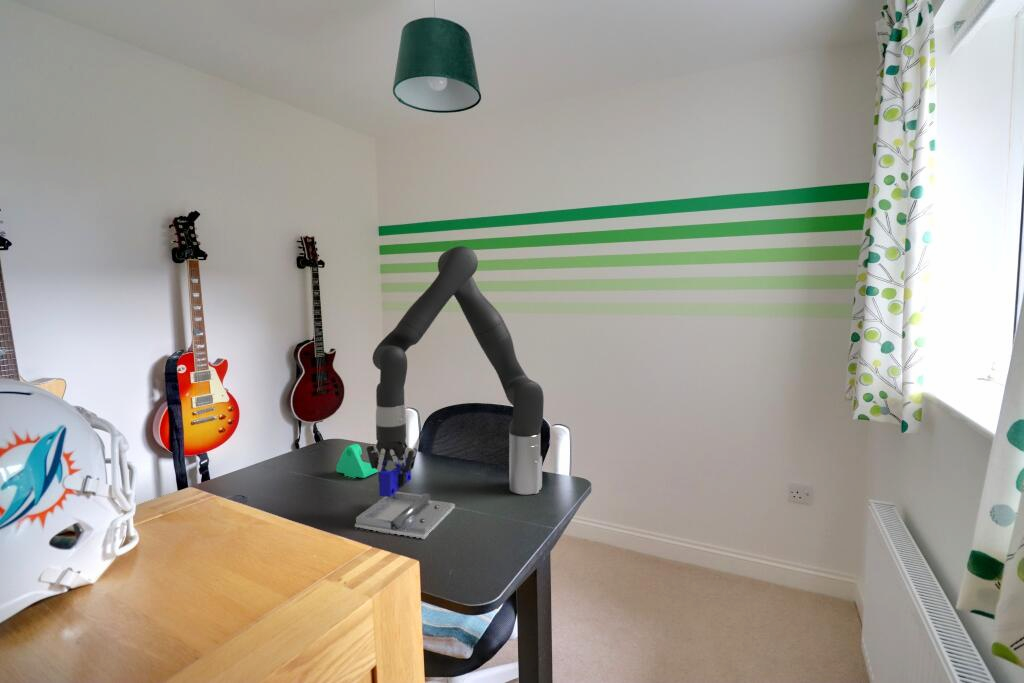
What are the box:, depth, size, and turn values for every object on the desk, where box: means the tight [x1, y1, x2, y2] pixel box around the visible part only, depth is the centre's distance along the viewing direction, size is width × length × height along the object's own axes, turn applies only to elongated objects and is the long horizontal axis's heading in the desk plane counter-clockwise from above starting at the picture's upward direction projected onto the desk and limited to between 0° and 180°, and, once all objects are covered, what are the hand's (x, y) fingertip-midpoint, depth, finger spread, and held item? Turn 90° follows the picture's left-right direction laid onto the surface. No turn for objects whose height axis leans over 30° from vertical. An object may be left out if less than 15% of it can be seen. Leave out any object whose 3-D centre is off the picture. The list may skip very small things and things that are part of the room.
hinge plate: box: [354, 491, 456, 540], centre depth 124 cm, size 19×18×3 cm
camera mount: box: [335, 443, 378, 479], centre depth 154 cm, size 12×8×10 cm, turn 62°
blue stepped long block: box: [378, 457, 412, 497], centre depth 124 cm, size 12×4×6 cm, turn 167°
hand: (392, 485), depth 124 cm, fingers closed on blue stepped long block, 4 cm apart
